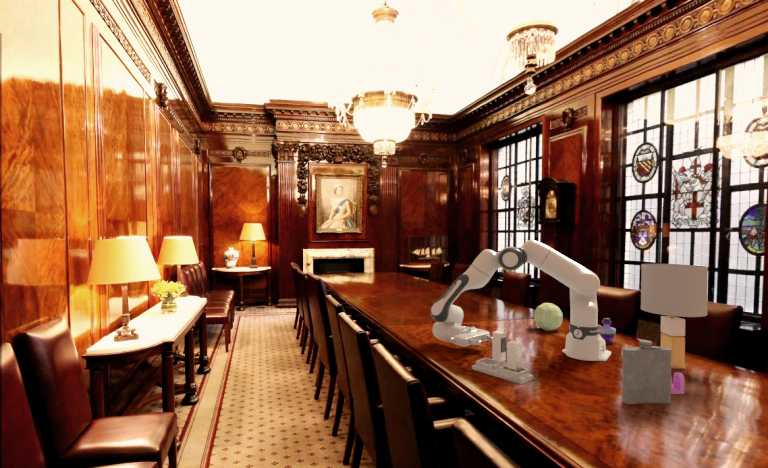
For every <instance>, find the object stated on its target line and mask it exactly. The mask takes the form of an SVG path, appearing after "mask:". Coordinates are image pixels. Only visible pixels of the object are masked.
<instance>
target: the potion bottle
mask: <svg viewBox="0 0 768 468" xmlns="http://www.w3.org/2000/svg"><path fill="white" fill-rule="evenodd" d="M612 322H613V321H612V320H611V318H609V317H604V318H603V319H602V320H601V324H603V326H602V325H601V329H600V330H599V332H600V333H599V335H600V336H601V337H602V338H603V339H604V340H605V343H606V344H613V342H614V339H615V338H616V337H617V336H616V335H617V333H616V332H617V329H616V327H612V326H611V325H612Z"/></svg>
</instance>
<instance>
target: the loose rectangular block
mask: <svg viewBox="0 0 768 468" xmlns="http://www.w3.org/2000/svg"><path fill="white" fill-rule="evenodd" d="M491 333H492V335H491V337H492V341H491V342H492V344H491V345H492V346H491V347H492V350H491V351H492V355H491V359H494V360H497V361H501V362H504V361H506V347H507V336H506V335H507V333H506V332H505V331H500V330H495V331H492V332H491Z"/></svg>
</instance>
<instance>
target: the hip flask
mask: <svg viewBox="0 0 768 468" xmlns="http://www.w3.org/2000/svg"><path fill="white" fill-rule="evenodd" d="M638 343H639V346H635V347H634V346H631V347H622V374H621V376H622V377H621V378H622V379H621V380H622V385H621V389H622V391H621V392H622V393H621V394H622V395H621V402H622V403H623V404H625V403H626V405H636V404H637V405H639V404H667V403H669V404H671V403H672V401H671V400H672V399H671V398H672V394H671V376H672V368H671V349H670V348H665V347H661V346H653V341H651V340H647V339H640V340H639V341H638ZM638 403H639V404H638Z"/></svg>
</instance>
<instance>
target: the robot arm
mask: <svg viewBox="0 0 768 468" xmlns="http://www.w3.org/2000/svg"><path fill="white" fill-rule="evenodd" d="M525 263H528V264H530V265H532V266H534V267H535V268H537V269H539V270H541V271H542V272H544V273H545V274H547V275H549V276H551V277H552V278H554V279H555V280H557V281H558V282H559V283H561V284H563V285H564V286H566V287H568V288H569V302H570V303H569V306H570V313H569V314H570V315H569V317H570V319H569V321H570V323H569V324H568V333H567V334H566V336H565V347H564V349H562V353H564V354H565V355H566V356H567V357H568V358H572V359H576V360H580V361H589V362H590V361H591V362H606V361H608V359H609V358H610V356H611V355H612V351H611V350H608V349H607V347H606V344H607V343H605V340H604V339H603V338H602V337H601V336H600V334H599V333H600V332H599V330H600V329H601V326H602V325H601V324H599V323H598V321H599V320H598V316H599V315H598V314H599V313H598V312H599V307H598V299H597V298H598V297H597V292H598V291H599V289H600V287H601V281H600V278H599V276H598V275H597V274H596V273H595V272H593V271H592V270H590V269H588V268H586V267H585V266H583V265H582V264H580V263H578V262H576V261H574V260H573V259H571V258H569V257H568V256H566V255H564V254H562V253H561V252H559V251H557V250H555V249H554V248H552V247H551V246H549V245H548V244H546V243H543V242H540V241H538V240H535V239H529V240H527V241H525V242H524V243H523V244H522V246H520V247H515V246H507V247H504V248H503V249H502V250H500V251H495V250H493V249H489V248H486V249H483V250H482V251H481V252H480V253H479V254H478V255H477V256H476V257H475V259H474V260H473V262H472V263H471V264H470V265H469V267H468V268H467V269H466V271H464V272H463V273H461V274H460V275H459V276H458V277H456V279H455V280H453V282H452V283H451V284H450V286H448V288H447V289H446V290H445V291H444V293H443V294H442V295H441V296H440V297H439V298H438V299H437V300H435V301H434V302H433V303H432V305H431V306H430V316H431V318H432V320H433V321H434V322H435V323H434V324H433V325H432V334H433V336H434V337H435V338H436V339H438V340H440V341H444V342H445V343H446V342H447V343H452V344H454V345H455V346H459V347H462V348H463V347H464V348H465V347H468V346H471V345H472V346H473V345H475V346H481V345H482V342H486V341H488V342H492V336H491V332H489V331H488V330H485V329H482V328H476V327H475V326H472V325H471V326H465V325H462V324H463V321H464V317H465V315H464V314H465V313H464V311H463V308H462V307H461V306H458V305H457V304H456V305H455V304H454V302H455V301H456V300H457V299H458V298H459V297H460V295H461V294H462V293H463V292H465V291H469V290H475V289H477V290H478V289H481V288H483V287H485V286H486V285H487V284H488V283H489V282H490V280H491V278H492V277H493V276H494V274H495V272H496V271H498V269H501V268H503V270H506V271H509V272H513V271H516V270H518V269H520V268H521V267H522V266H523V265H524V264H525Z"/></svg>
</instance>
